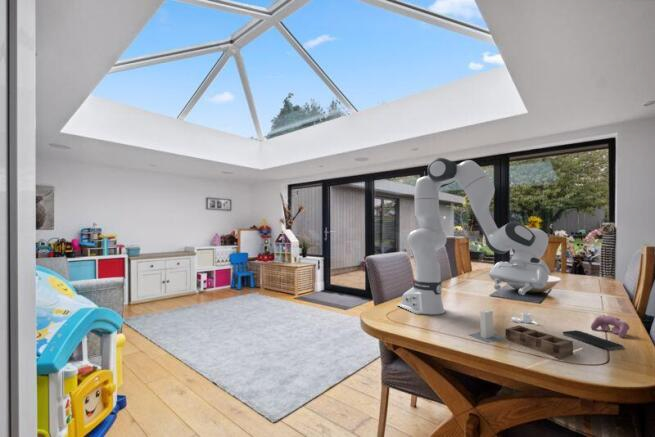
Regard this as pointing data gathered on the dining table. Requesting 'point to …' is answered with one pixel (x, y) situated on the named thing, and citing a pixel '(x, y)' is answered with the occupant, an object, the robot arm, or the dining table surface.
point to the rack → (540, 341)
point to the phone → (593, 340)
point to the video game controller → (605, 321)
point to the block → (486, 323)
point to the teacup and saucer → (525, 319)
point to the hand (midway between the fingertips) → (508, 291)
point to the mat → (490, 339)
